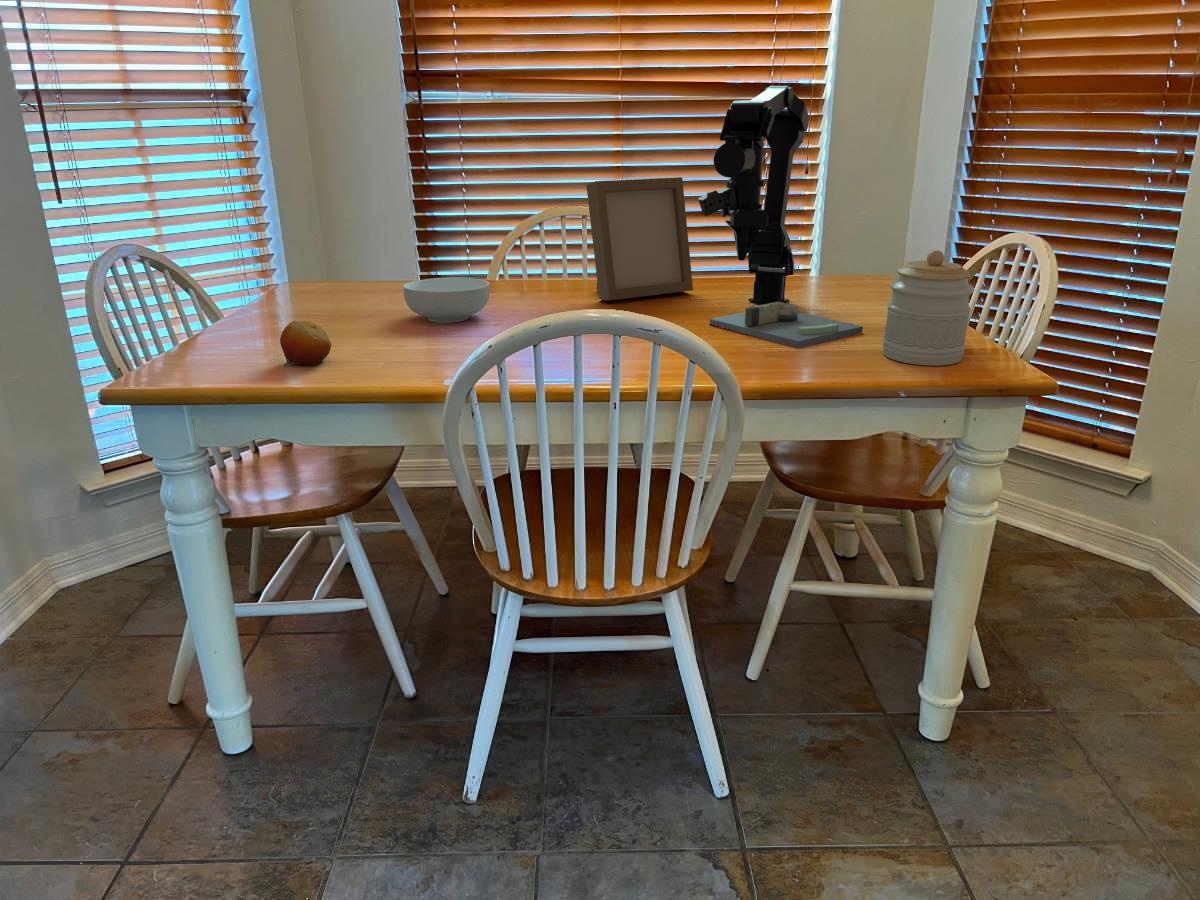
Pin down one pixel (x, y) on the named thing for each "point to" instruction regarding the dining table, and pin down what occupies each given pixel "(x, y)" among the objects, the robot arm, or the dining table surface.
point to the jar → (928, 312)
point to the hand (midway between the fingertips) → (741, 260)
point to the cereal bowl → (447, 298)
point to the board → (791, 329)
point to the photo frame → (639, 237)
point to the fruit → (304, 343)
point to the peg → (771, 313)
